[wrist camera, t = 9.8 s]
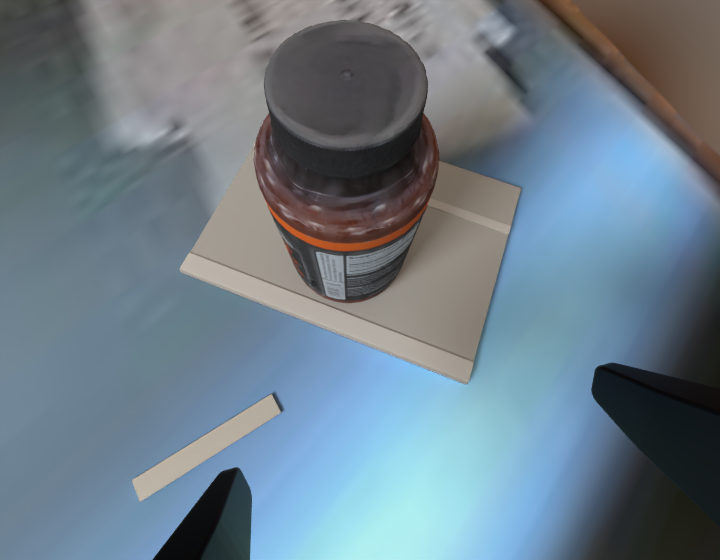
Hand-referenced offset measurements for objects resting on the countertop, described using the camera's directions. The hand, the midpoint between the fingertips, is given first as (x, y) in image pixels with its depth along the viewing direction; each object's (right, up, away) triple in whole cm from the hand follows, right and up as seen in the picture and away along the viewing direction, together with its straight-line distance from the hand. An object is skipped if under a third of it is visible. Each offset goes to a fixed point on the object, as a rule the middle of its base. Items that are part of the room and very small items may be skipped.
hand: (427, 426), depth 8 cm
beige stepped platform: (-2, +6, +12) cm, 13 cm away
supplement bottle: (-2, +5, +11) cm, 12 cm away
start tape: (-9, -4, +8) cm, 12 cm away
